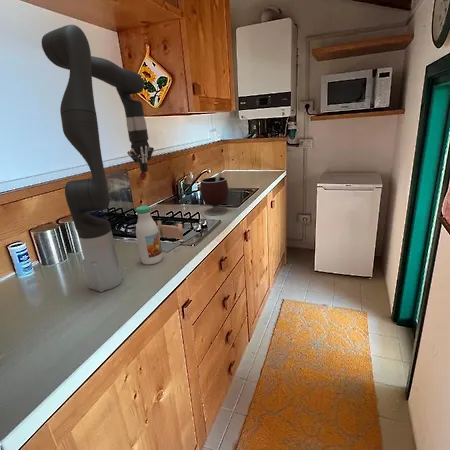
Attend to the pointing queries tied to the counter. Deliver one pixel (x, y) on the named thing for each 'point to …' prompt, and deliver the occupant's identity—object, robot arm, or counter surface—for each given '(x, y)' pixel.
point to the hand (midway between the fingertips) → (144, 172)
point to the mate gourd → (214, 194)
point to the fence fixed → (159, 228)
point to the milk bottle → (148, 237)
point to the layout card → (170, 246)
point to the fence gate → (172, 231)
